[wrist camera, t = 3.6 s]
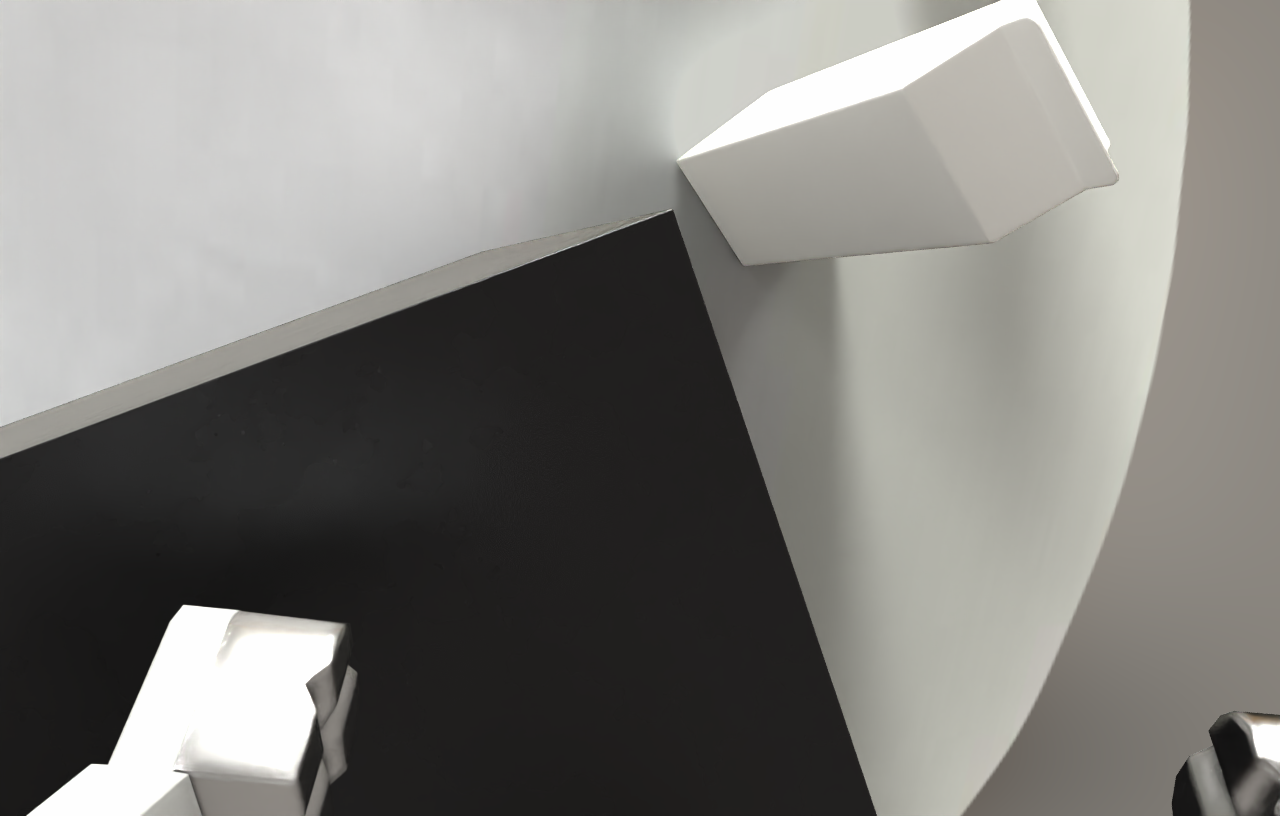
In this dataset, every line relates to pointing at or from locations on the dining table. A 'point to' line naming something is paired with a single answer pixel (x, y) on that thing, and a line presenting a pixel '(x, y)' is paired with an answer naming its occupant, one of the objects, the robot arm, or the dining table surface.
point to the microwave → (444, 546)
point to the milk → (907, 146)
